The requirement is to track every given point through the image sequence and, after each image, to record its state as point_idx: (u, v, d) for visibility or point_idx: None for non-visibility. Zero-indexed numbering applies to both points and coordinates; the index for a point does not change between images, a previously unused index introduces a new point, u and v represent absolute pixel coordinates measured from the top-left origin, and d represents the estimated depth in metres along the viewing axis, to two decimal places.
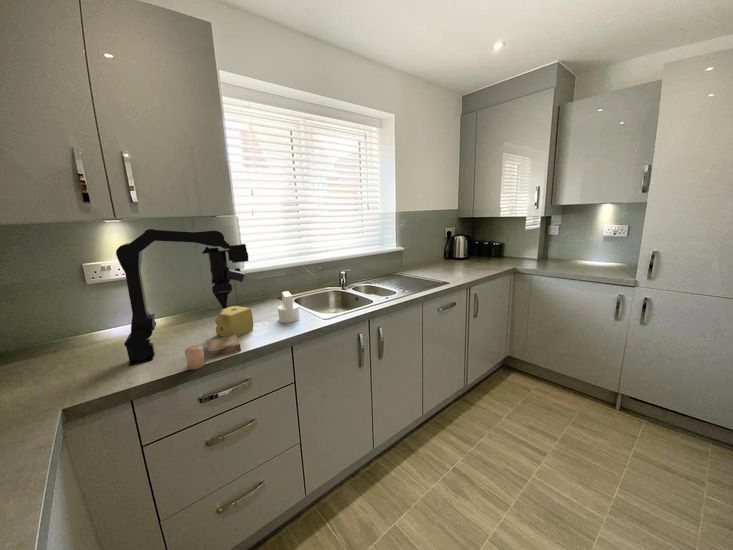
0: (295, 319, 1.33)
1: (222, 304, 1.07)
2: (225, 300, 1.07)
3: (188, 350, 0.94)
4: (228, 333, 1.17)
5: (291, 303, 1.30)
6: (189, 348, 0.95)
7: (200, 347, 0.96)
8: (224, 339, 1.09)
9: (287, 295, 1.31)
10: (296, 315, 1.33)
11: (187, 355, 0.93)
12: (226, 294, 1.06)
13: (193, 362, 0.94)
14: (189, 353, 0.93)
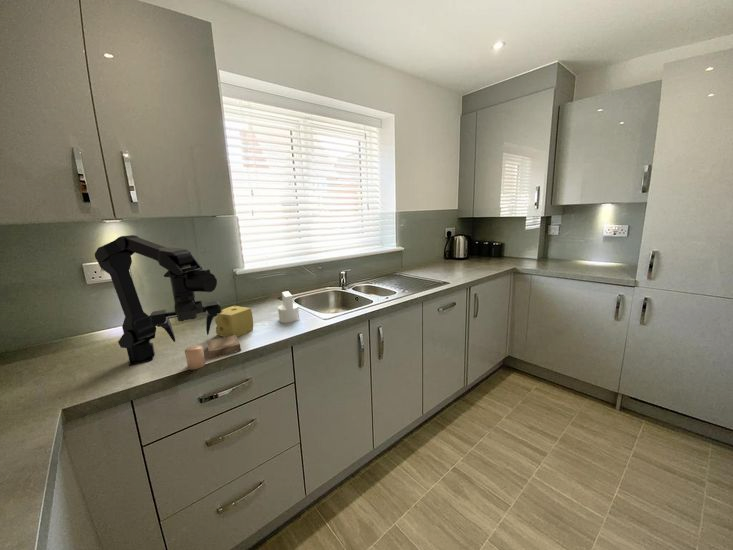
0: (295, 319, 1.33)
1: None
2: None
3: (188, 350, 0.94)
4: (228, 333, 1.17)
5: (291, 303, 1.30)
6: (189, 348, 0.95)
7: (200, 347, 0.96)
8: (224, 339, 1.09)
9: (287, 295, 1.31)
10: (296, 315, 1.33)
11: (187, 355, 0.93)
12: None
13: (193, 362, 0.94)
14: (189, 353, 0.93)
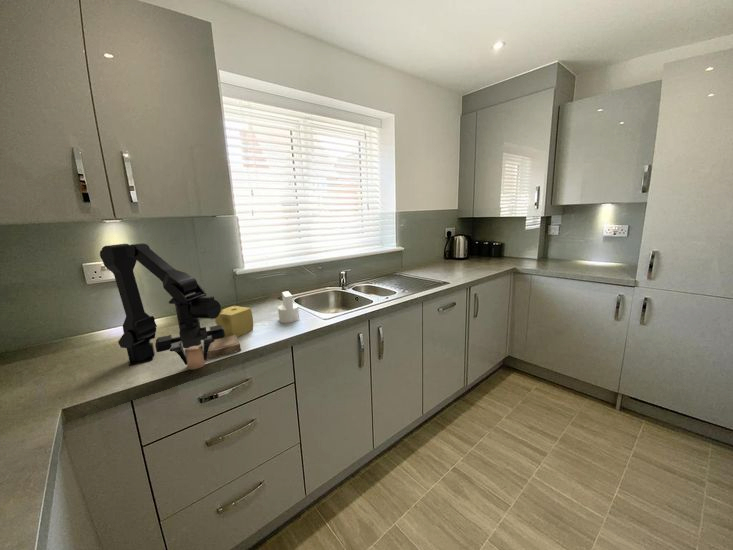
0: (295, 319, 1.33)
1: None
2: None
3: (188, 350, 0.94)
4: (228, 333, 1.17)
5: (291, 303, 1.30)
6: (189, 348, 0.95)
7: (200, 347, 0.96)
8: (224, 339, 1.09)
9: (287, 295, 1.31)
10: (296, 315, 1.33)
11: (187, 355, 0.93)
12: None
13: (192, 361, 0.94)
14: (189, 353, 0.93)
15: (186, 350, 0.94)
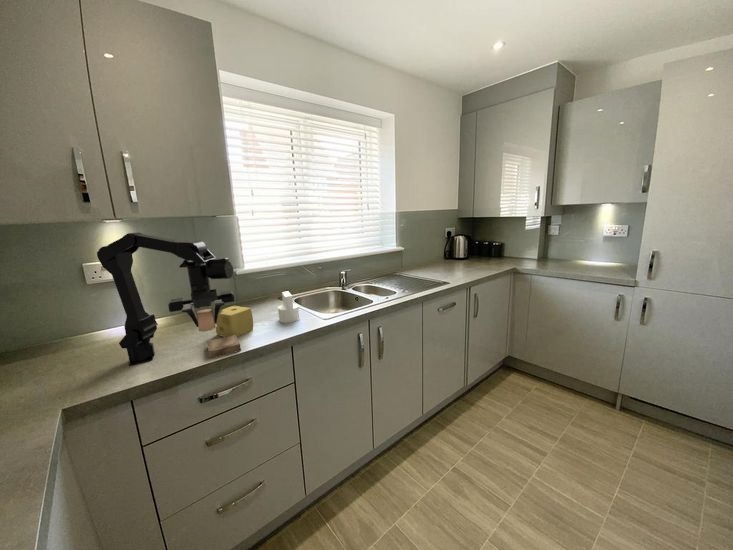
0: (295, 319, 1.33)
1: None
2: None
3: (199, 312, 0.98)
4: (228, 333, 1.17)
5: (291, 303, 1.30)
6: (200, 311, 0.99)
7: (210, 310, 0.99)
8: (224, 339, 1.09)
9: (287, 295, 1.31)
10: (296, 315, 1.33)
11: (198, 317, 0.97)
12: None
13: (203, 324, 0.97)
14: (200, 315, 0.96)
15: (197, 313, 0.97)
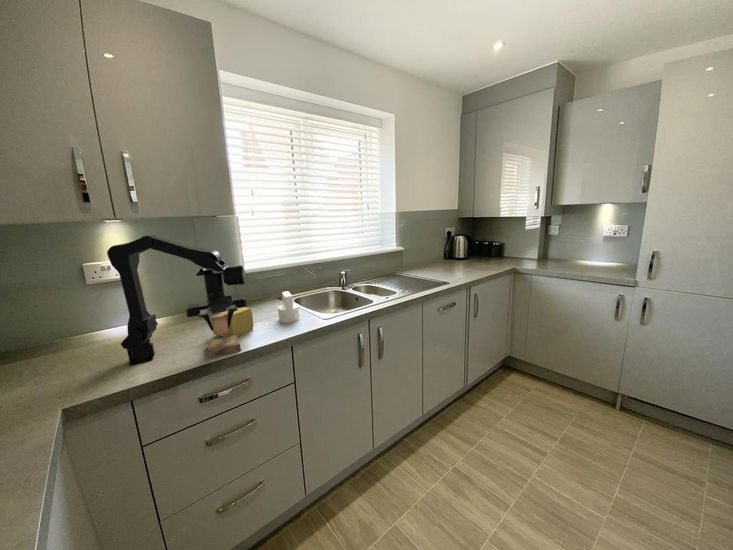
0: (295, 319, 1.33)
1: (209, 325, 1.04)
2: (208, 323, 1.03)
3: (214, 317, 1.04)
4: (228, 333, 1.17)
5: (291, 303, 1.30)
6: (215, 316, 1.05)
7: (224, 315, 1.06)
8: (224, 339, 1.09)
9: (287, 295, 1.31)
10: (296, 315, 1.33)
11: (213, 322, 1.03)
12: None
13: (218, 328, 1.03)
14: (215, 319, 1.03)
15: (212, 317, 1.04)
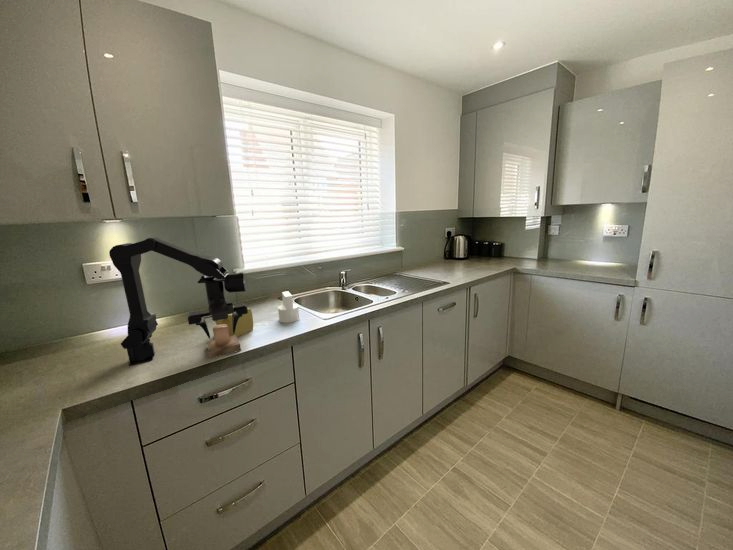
0: (295, 319, 1.33)
1: (206, 333, 1.04)
2: (205, 331, 1.03)
3: (216, 328, 1.05)
4: None
5: (291, 303, 1.30)
6: (216, 326, 1.06)
7: (226, 325, 1.06)
8: None
9: (287, 295, 1.31)
10: (296, 315, 1.33)
11: (215, 332, 1.04)
12: None
13: (220, 338, 1.04)
14: (217, 330, 1.03)
15: (214, 328, 1.05)
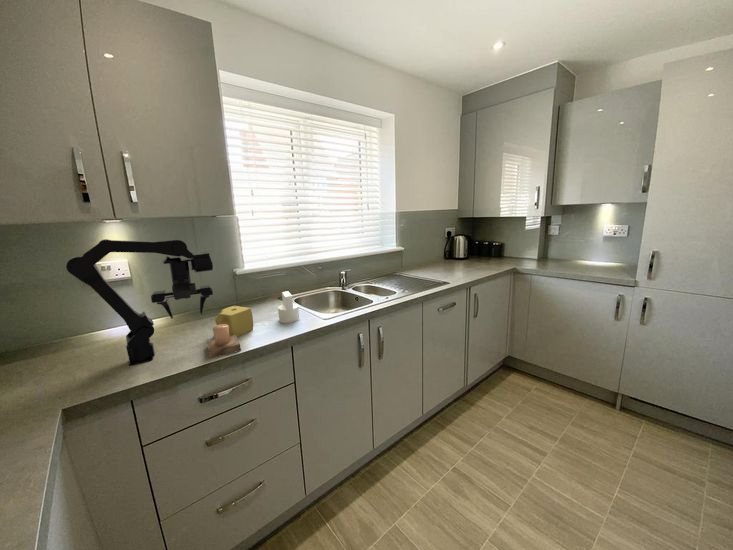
0: (295, 319, 1.33)
1: None
2: None
3: (216, 327, 1.05)
4: None
5: (291, 303, 1.30)
6: (216, 326, 1.06)
7: (226, 325, 1.06)
8: None
9: (287, 295, 1.31)
10: (296, 315, 1.33)
11: (215, 332, 1.04)
12: None
13: (220, 338, 1.04)
14: (217, 330, 1.03)
15: (214, 328, 1.05)
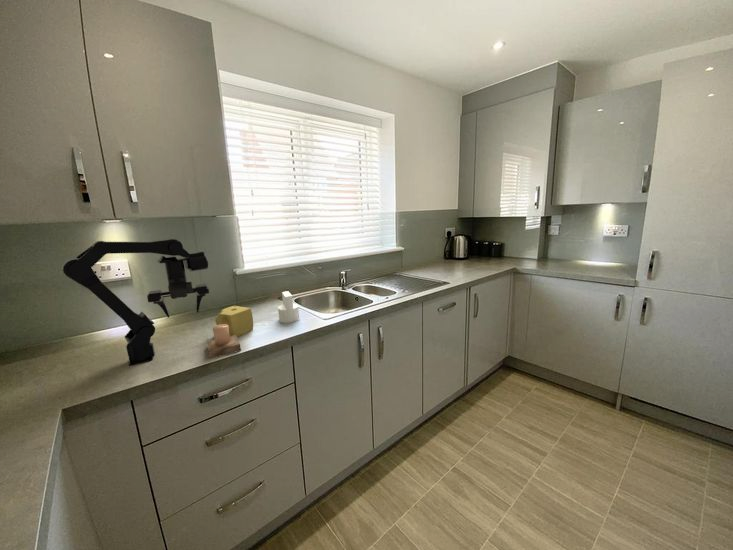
0: (295, 319, 1.33)
1: None
2: None
3: (216, 328, 1.05)
4: None
5: (291, 303, 1.30)
6: (216, 326, 1.06)
7: (226, 325, 1.06)
8: None
9: (287, 295, 1.31)
10: (296, 315, 1.33)
11: (215, 332, 1.04)
12: None
13: (220, 338, 1.04)
14: (217, 330, 1.03)
15: (214, 328, 1.05)
